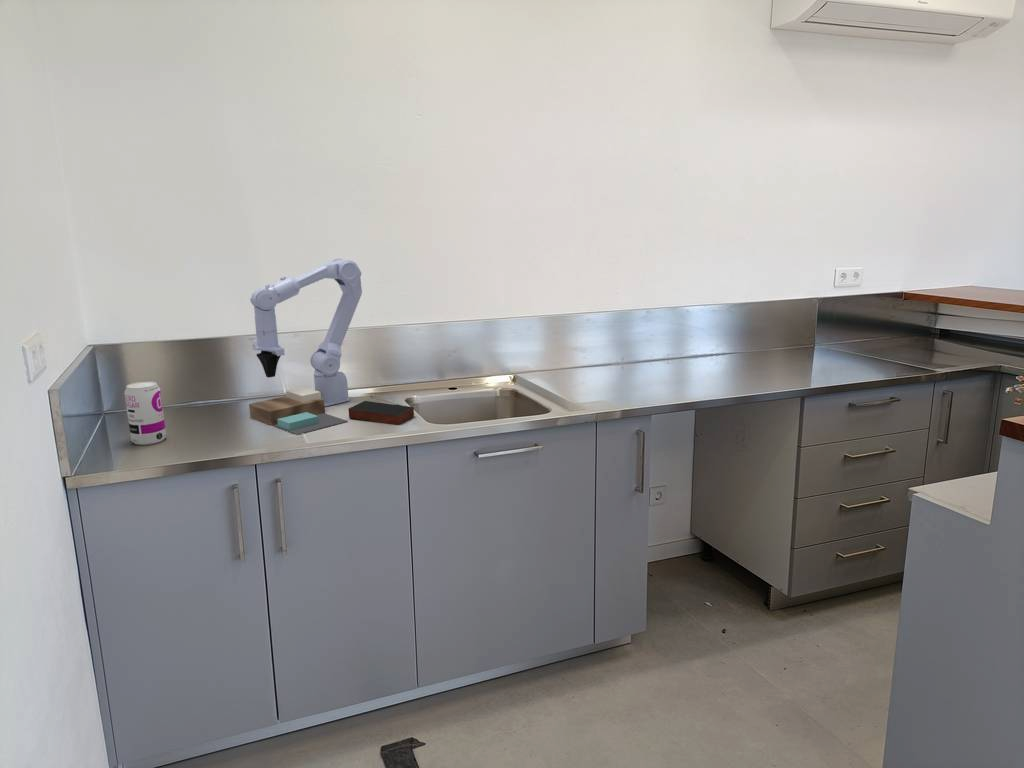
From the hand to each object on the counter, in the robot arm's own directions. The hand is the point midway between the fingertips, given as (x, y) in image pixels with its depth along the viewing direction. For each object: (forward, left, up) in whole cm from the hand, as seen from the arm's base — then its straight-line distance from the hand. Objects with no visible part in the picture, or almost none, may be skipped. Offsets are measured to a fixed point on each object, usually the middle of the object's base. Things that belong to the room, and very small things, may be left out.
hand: (270, 376), depth 213 cm
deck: (0, +7, -10) cm, 13 cm away
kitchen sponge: (-12, +31, -9) cm, 34 cm away
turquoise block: (+3, +19, -8) cm, 21 cm away
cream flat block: (-6, +7, -6) cm, 11 cm away
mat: (0, +20, -10) cm, 23 cm away
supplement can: (+36, +1, -11) cm, 38 cm away
